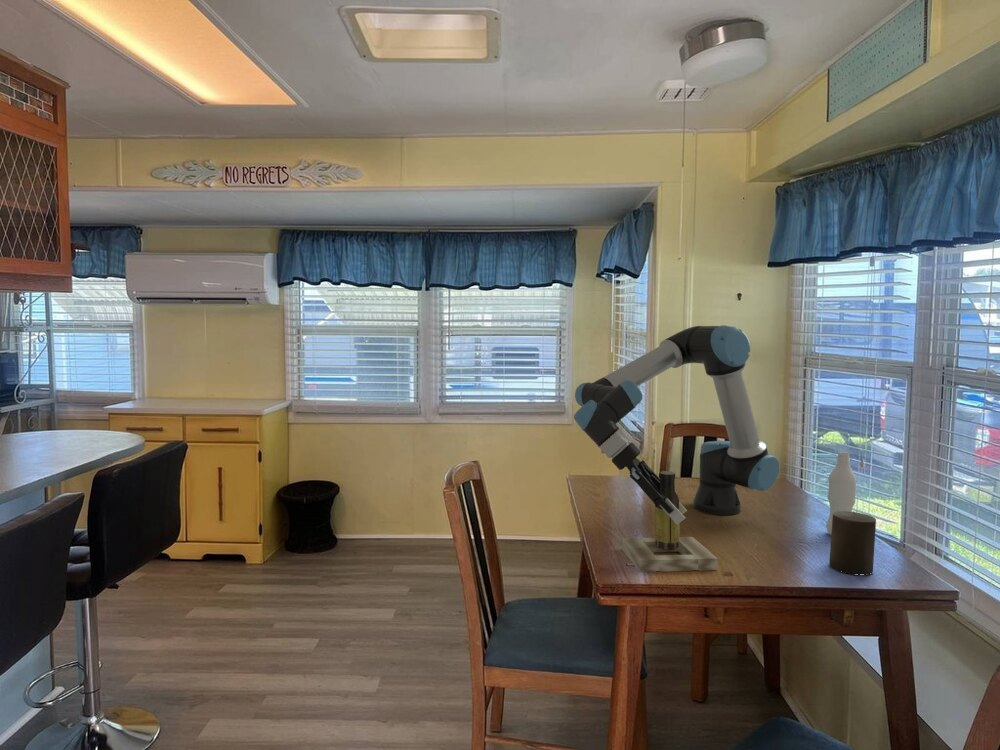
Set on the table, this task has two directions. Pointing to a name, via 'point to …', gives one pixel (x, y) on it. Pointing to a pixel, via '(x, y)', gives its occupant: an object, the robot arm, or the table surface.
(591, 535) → the table surface
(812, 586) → the table surface
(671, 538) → the sauce bottle
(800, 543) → the table surface
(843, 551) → the pillar candle
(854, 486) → the water bottle
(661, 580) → the table surface
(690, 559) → the birch stand
